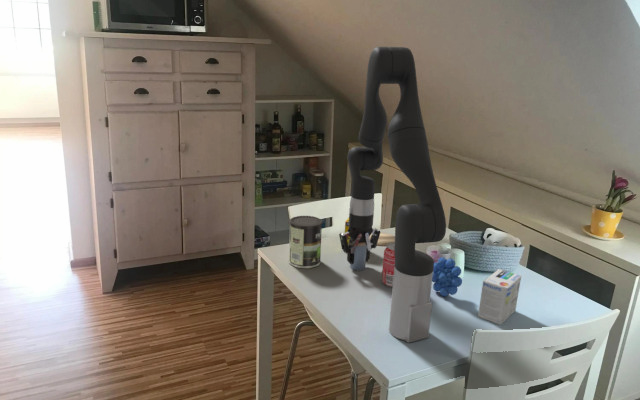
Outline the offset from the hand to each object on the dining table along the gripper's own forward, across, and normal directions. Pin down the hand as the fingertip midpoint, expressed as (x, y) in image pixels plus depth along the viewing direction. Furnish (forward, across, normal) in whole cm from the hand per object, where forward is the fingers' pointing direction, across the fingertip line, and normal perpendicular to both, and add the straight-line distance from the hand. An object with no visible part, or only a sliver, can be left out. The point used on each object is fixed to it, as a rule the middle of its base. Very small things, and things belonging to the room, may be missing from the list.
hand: (358, 261), depth 168 cm
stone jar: (+2, 0, 0) cm, 2 cm away
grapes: (+2, +14, -26) cm, 30 cm away
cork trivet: (+2, +20, +18) cm, 27 cm away
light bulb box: (+2, +20, -40) cm, 45 cm away
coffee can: (+2, -14, +10) cm, 17 cm away
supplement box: (+2, +6, +13) cm, 14 cm away
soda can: (+2, +4, -14) cm, 15 cm away
